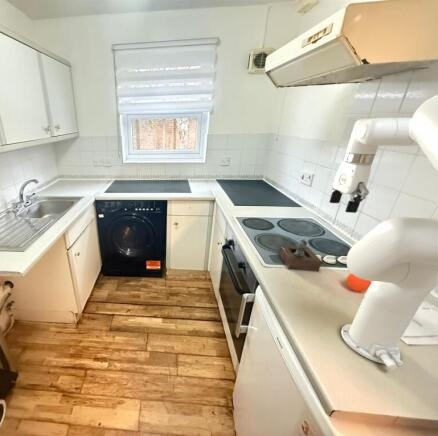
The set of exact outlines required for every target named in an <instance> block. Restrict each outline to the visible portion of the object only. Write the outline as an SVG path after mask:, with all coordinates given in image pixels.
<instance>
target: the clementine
mask: <svg viewBox="0 0 438 436" xmlns="http://www.w3.org/2000/svg"><path fill="white" fill-rule="evenodd" d="M345 282H346V285H347V286H348V287H349V288H350V289H351V290H353V291H355V292H367V290H368V288H369V286H370V285H371V283H372V281H369V280H364V279H360V278H358V277H356V276H354V275H353V274H352V273H349V274H348V275H347V277H346V281H345Z"/></svg>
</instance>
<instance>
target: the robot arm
mask: <svg viewBox="0 0 438 436" xmlns="http://www.w3.org/2000/svg"><path fill="white" fill-rule="evenodd" d="M379 146H391V147H392V146H394V147H396V146H398V147H410V146H411V147H413V146H414V147H415V146H419V147H420V149H421V150H422V151H423V153H424V155H425V157H427V159H428V160H429V162H430V164H431V165H432V166H433V168H434V169H435V171H436V172H437V173H438V94H436V95H434V96H432V97H430V98H428V99H427V100H425V101H424V102H423V103H421V104H420V105H419V107H417V109H416V110H415V111H414V113H413V115H412V117H373V118H359V119H358V120H356V121H355V123H354V125H353V129H352V131H351V134H350V138H349V140H348V145H347V147H346V151H345V154H344V157H343V160H342V162H341V163H340V165H339V167H338V169H337V171H336V173H335V177H334V178H333V179H332V185H331V186H332V189H331V195H330V198H329V203H330V204H340V202H341V199H342V195H343V194H345V195H349V199H350V200H348V201H347V205H346V208H345V212H346V213H352V214H353V213H354V214H355V213H357V212H358V210H359V207H360V205H361V203H362V202H363V200H365V199H366V197H367V196H368V195H369V194H370V191H369V189H368V188H367V185H368V182H369V178H370V175H371V171H372V165H373V163H374V159H375V157H376V154H377V151H378V149H379ZM345 264H346V267H347V270H348V271H349V272H350V274H353V275H354V276H356V277H358V278H360V279H364V280H369V281H371V285H370V286H369V288H368V290H366V291H365V294H364V296H363V299H362V301H361V302H360V305H359V307H358V309H357V311H356V314H355V316H354V318H353V321H352V323H347V324H344V325H343V326H342V328H341V331H340V334H341V337H342V339H343V341H344V342H345V343H346V345H347V346H349V348H351V349H352V350H353V351H355V352H356V353H358V354H359V355H360V356H362V357H364V358H366V359H368V360H370V361H372V362H376V363H378V364H382V365H385V366H386V367H387V368H388V369H389V370H391V371H395V370H397V369H398V367H402V366H404V365H405V363H404V362H403V361H402V360H401V356H402V355H401V351H400V349H401V348H399V347H398V344H399V343H400V341H401V339H402V338H403V335H404V334H405V332H406V330H407V328H408V327H409V325H410V324H411V322H412V320H413V318H414V317H415V314H416V313H417V312H418V310H419V309H420V307H421V305H422V303H423V302H424V300H425V299H426V298H427V296H429V294H430V293H432V291H434V289H435V288H437V287H438V217H432V218H431V217H427V218H426V217H411V216H409V217H408V216H399V217H392V218H388V219H386V220H384V221H381V222H379V224H377V225H376V226H374V227H373V228H372V229H371V230H369V231H368V232H367V233H366V234H364V236H362V237H361V238H360V239H359V240H357V242H355V243H354V244H353V245H352V246H351V247H350V249H349V250H348V252H347V254H346V259H345Z"/></svg>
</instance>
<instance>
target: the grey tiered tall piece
mask: <svg viewBox="0 0 438 436" xmlns="http://www.w3.org/2000/svg"><path fill="white" fill-rule="evenodd" d="M307 244H308V242H307V241H306V240H305V238H302V239H301V240H299V242H298V245H296V246H297V251H296V252H293V255H294V256H295V257H307V256H306V255H304V252H305V250H306V247H307Z"/></svg>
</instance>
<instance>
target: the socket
mask: <svg viewBox="0 0 438 436" xmlns="http://www.w3.org/2000/svg"><path fill="white" fill-rule="evenodd" d="M297 246H298V245H280V247H279V251H278V256H279V257H280V259H281V260H282V262H283V263H284V265H285V266H286V268H287V269H288V270H296V271H297V270H298V271H309V272H310V271H311V272H320V270H321V266H322V264H323V263H322V262H323V260H321V259H320V257H318V256H317V255H316V253H315V252H314V251H313V250H312V249H311V248H310V247H309V246H306V250H305V252H304V255H306V256H307V257H295V256H294V255H293V252H296V251H297Z"/></svg>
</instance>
